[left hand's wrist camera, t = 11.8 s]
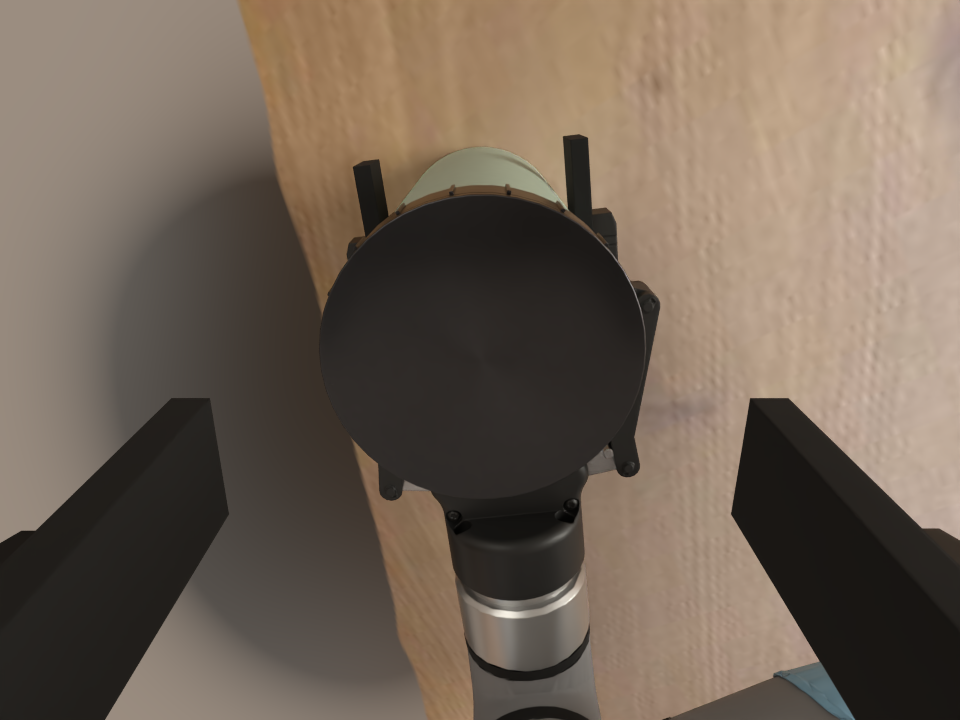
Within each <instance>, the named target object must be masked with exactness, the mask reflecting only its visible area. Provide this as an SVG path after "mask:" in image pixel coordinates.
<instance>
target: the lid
mask: <svg viewBox="0 0 960 720" xmlns="http://www.w3.org/2000/svg"><path fill="white" fill-rule="evenodd" d="M608 246H609V244H608V243H607V242H606V241H605V239H604V238H603V237H602V236H601V235H600V234H599V233H597V234H595V233H594V232H593V231H592V230H591V229H590V228H589V227H588V226H587V225H586V224H585V223H584V222H583V221H581V220H580V219H579V218H578V217H576V216H575V215H574V214H573V213H571V212H570V211H568V210H567V209H565V208H564V207H563V205H562V204H561V203H560V202H559V201H556V203H555V202H553V201H551V200H548V199H546V198H544V197H541V196H539V195H537V194H534V193H531V192H527V191H523V190H520V189H516V188H511V187H510V185H509V184H505V187H503V186H496V185H469V186H462V187H455V185H451V187H450V188H449V189H445V190H442V191H438V192H435V193H431V194H428V195H426V196H424V197H422V198H419V199H417V200H415V201H412V202H410V203H409V204H407V205H405V203H402V204H401V205H400V207H399V208H398V209H397V211H395V212H394V213H392V214H391V215H390V216H389V217H387V218H386V219H385V220H384V221H383V222H381V223H380V224H379V225H378V226H377V227H376V228H375V229H374V230H373V231H372V232H371V233H370V234H369V235H368V236H367V237H365V236H363V237H362V239H361V240H360V241H359V242H358V243H357V244H356V246H355V247H354V248H353V249H354V250H355V252H354V253H353V254H352V255H351V257H350V258H349V260H348V261H347V263H346V264H345V265H344V267H343V268H342V270H341V271H340V273H339V275H338V277H337V279H336V281H335V283H334V285H333V287H332V288H331V289H330V291H329V292H328V299H327V302H326V305H325V308H324V312H323V317H322V323H321V328H320V344H319V353H320V363H321V371H322V376H323V380H324V384H325V388H326V391H327V394H328V396H329V399H330V401H331V404H332V406H333V409H334V410H335V412H336V414H337V416H338V418H339V419H340V421H341V423H342V425H343V426H344V428H345V429H346V430H347V432H348V433H349V434H350V436H351V437H352V439H353V440H354V441H355V442H356V443H357V444H358V445H359V446H360V447H361V448H362V450H363V451H364V452H365V453H366V454H367V455H368V456H370V457H371V458H372V459H373V460H374V461H376V462H377V463H378V464H379V465H381V466H382V467H383V468H385V469H386V470H388V471H389V472H391V473H393V474H394V475H396V476H397V477H399V478H401V479H403V480H405V481H407V482H409V483H411V484H413V485H415V486H418V487H421V488H424V489H427V490H429V491H432V492H435V493H440V494H444V495H449V496H453V497H462V498H471V499H495V498H503V497H512V496H516V495H521V494H525V493H529V492H533V491H536V490H538V489H541V488H544V487H547V486H550V485H552V484H554V483H556V482H558V481H560V480H562V479H564V478H566V477H568V476H569V475H571V474H572V473H574V472H576V471H577V470H579V469H580V468H582V467H583V466H585V465H586V464H587V463H588V462H589V461H591V460H592V459H593V458H594V457H595V456H597V455H598V454H599V453H600V452H601V451H602V450H603V449H604V447H605V446H606V445H607V444H608V443H609V442H610V441H611V440H612V439H613V437H614V436H615V435H616V433H617V432H618V430H619V429H620V428H621V426H622V425H623V423H624V422H625V420H626V418H627V416H628V414H629V412H630V411H631V409H632V407H633V404H634V402H635V399H636V397H637V394H638V391H639V389H640V385H641V380H642V376H643V372H644V365H645V355H646V340H645V327H644V322H643V316H642V311H641V307H640V305H639V302H638V299H637V296H636V293H635V291H636V289H635V287H634V286H633V284H632V283H631V282H630V280H629V278H628V276H627V274H626V272H625V271H624V269H623V268H622V266H621V265H620V264H619V262H618V261H617V259H616V258H615V257H614V255H613V254H612V253H611V251H610V250H609V249H608V248H607V247H608Z"/></svg>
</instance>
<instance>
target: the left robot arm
mask: <svg viewBox="0 0 960 720" xmlns="http://www.w3.org/2000/svg"><path fill="white" fill-rule="evenodd" d="M228 515H229V512H228V506H227V500H226V494H225V488H224V482H223V476H222V470H221V464H220V458H219V451H218V446H217V440H216V433H215V427H214V421H213V415H212V409H211V403H210V398H171V399H170V400H169V401H168V402H167V403H166V404H165V405H164V406H163V407H162V408H161V409H160V410H159V411H158V412H157V413H156V414H155V415H154V416H153V417H152V418H151V419H150V420H149V421H148V422H147V423H146V424H145V425H144V426H143V427H142V428H141V429H140V430H139V431H138V432H137V433H136V434H134V435H133V436H132V437H131V438H130V439H129V440H128V441H127V442H126V443H125V444H124V445H123V446H122V447H121V448H120V449H119V450H118V451H117V452H116V453H115V454H114V455H113V456H112V457H111V458H110V459H109V460H108V461H107V462H106V463H105V464H104V465H103V466H102V467H101V468H100V469H99V470H98V471H97V472H96V473H94V474H93V475H92V476H91V477H90V478H89V479H88V480H87V481H86V482H85V483H84V484H83V485H82V486H81V487H80V488H79V489H78V490H77V491H76V492H75V493H74V494H73V495H72V496H71V497H70V498H69V499H68V500H67V501H66V502H65V503H64V504H63V505H62V506H61V507H60V508H59V509H58V510H57V511H56V512H54V513H53V514H52V515H51V516H50V517H49V518H48V519H47V520H46V521H45V522H44V523H43V524H42V525H41V526H40V527H39V528H38V529H37V530H36V531H20V532H19V533H17V534H15V535H13V536H12V537H10V538H8V539H7V540H5V541H3V542H1V543H0V720H105V719H106V717H107V715H108V714H109V712H110V710H111V709H112V707H113V705H114V704H115V702H116V701H117V699H118V697H119V695H120V694H121V692H122V691H123V689H124V687H125V686H126V684H127V682H128V681H129V679H130V677H131V676H132V674H133V672H134V671H135V669H136V667H137V666H138V664H139V662H140V661H141V659H142V657H143V656H144V654H145V652H146V651H147V649H148V647H149V646H150V644H151V642H152V641H153V639H154V637H155V636H156V634H157V633H158V631H159V629H160V628H161V626H162V624H163V622H164V621H165V619H166V618H167V616H168V614H169V613H170V611H171V609H172V608H173V606H174V604H175V603H176V601H177V599H178V598H179V596H180V594H181V593H182V591H183V589H184V588H185V586H186V584H187V583H188V581H189V579H190V578H191V576H192V574H193V573H194V571H195V569H196V568H197V566H198V565H199V563H200V561H201V560H202V558H203V556H204V555H205V553H206V551H207V550H208V548H209V546H210V545H211V543H212V541H213V540H214V538H215V536H216V535H217V533H218V531H219V530H220V528H221V526H222V525H223V523H224V521H225V520H226V518H227V516H228ZM731 515H732V516H733V518H734V520H735V521H736V523H737V525H738V526H739V528H740V530H741V531H742V533H743V535H744V536H745V538H746V540H747V541H748V543H749V545H750V546H751V548H752V550H753V551H754V553H755V555H756V556H757V558H758V560H759V561H760V563H761V565H762V566H763V568H764V569H765V571H766V573H767V574H768V576H769V578H770V579H771V581H772V583H773V584H774V586H775V588H776V589H777V591H778V593H779V594H780V596H781V598H782V599H783V601H784V603H785V604H786V606H787V608H788V609H789V611H790V613H791V614H792V616H793V618H794V619H795V621H796V623H797V624H798V626H799V628H800V629H801V631H802V633H803V634H804V636H805V637H806V639H807V641H808V642H809V644H810V646H811V647H812V649H813V651H814V652H815V654H816V656H817V657H818V659H819V661H820V662H821V664H822V666H823V667H824V669H825V671H826V672H827V674H828V676H829V677H830V679H831V681H832V682H833V684H834V686H835V687H836V689H837V691H838V692H839V694H840V696H841V697H842V699H843V701H844V702H845V704H846V705H847V707H848V709H849V710H850V712H851V714H852V715H853V717H854V719H855V720H960V540H958V539H956V538H955V537H953V536H951V535H949V534H948V533H946V532H944V531H942V530H941V529H922V528H921V527H920V526H919V525H918V524H917V523H916V522H915V521H914V520H913V519H912V518H911V517H910V516H909V515H908V514H907V513H906V512H905V511H903V510H902V509H901V508H900V507H899V506H898V505H897V504H896V503H895V502H894V501H893V500H892V499H891V498H890V497H889V496H888V495H887V494H886V493H885V492H884V491H883V490H882V489H881V488H880V487H879V486H878V485H877V484H876V483H875V482H874V481H873V480H872V479H871V478H870V477H869V476H868V475H867V474H866V473H865V472H863V471H862V470H861V469H860V468H859V467H858V466H857V465H856V464H855V463H854V462H853V461H852V460H851V459H850V458H849V457H848V456H847V455H846V454H845V453H844V452H843V451H842V450H841V449H840V448H839V447H838V446H837V445H836V444H835V443H834V442H833V441H832V440H831V439H830V438H829V437H828V436H827V435H826V434H824V433H823V432H822V431H821V430H820V429H819V428H818V427H817V426H816V425H815V424H814V423H813V422H812V421H811V420H810V419H809V418H808V417H807V416H806V415H805V414H804V413H803V412H802V411H801V410H800V409H799V408H798V407H797V406H796V405H795V404H794V403H793V402H792V401H791V400H790V399H789V398H750V403H749V409H748V415H747V421H746V427H745V433H744V439H743V445H742V451H741V458H740V464H739V470H738V476H737V482H736V488H735V494H734V500H733V506H732V512H731Z"/></svg>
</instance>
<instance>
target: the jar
mask: <svg viewBox="0 0 960 720" xmlns="http://www.w3.org/2000/svg"><path fill="white" fill-rule="evenodd" d="M505 184H509V185H510V187H511V188H516V189H520V190H523V191H527V192H531V193H534V194H537V195H539V196H541V197H544V198H546V199H548V200H551V201H553V202H555V203H556V201H559V202H560V203H561V204H562V205H563V207H564V208H565V209H567V207H566V206H565V205H564V204H563V202H562V201H561V200H560V198H559V197H558V196H557V194H556V193H555V192H554V190H553V189H552V188H551V187H550V185H549V184H548V183H547V181H546V180H545V179H544V177H543V176H542V175H541V174H540V173H539V172H538V171H537V170H536V168H535V167H533V166H532V165H531V164H530V163H528V162H527V161H526V160H524V159H522V158H521V157H519V156H518V155H515V154H513V153H511V152H508V151H505V150H502V149H498V148H491V147H473V148H466V149H463V150H459V151H456V152H453V153H451V154H449V155H447V156H445V157H443V158H442V159H440V160H438V161H437V162H436V163H434V164H433V165H432V166H431V167H430V168H429V169H428V170H427V171H426V172H425V173H424V174H423V175H422V176H421V178H420V179H419V180H418V182H417V183H416V184H415V186H414V187H413V188H412V189H411V191H410V192H409V193H408V195H407V196H406V197H405V199H404V200H403V201H402V203H405V205H407V204H409V203H410V202H412V201H415V200H417V199H419V198H422V197H424V196H426V195H428V194H431V193H435V192H438V191H442V190H445V189H449V188H450V187H451V185H455V187H462V186H469V185H496V186H503V187H505ZM402 203H401V204H402ZM401 204H400V205H401ZM400 205H399V207H400ZM399 207H398V208H399ZM398 208H397V209H398ZM397 209H396V211H397ZM567 210H568V209H567ZM568 211H569V210H568Z"/></svg>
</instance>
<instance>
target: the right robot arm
mask: <svg viewBox="0 0 960 720" xmlns="http://www.w3.org/2000/svg"><path fill="white" fill-rule="evenodd" d="M563 144H564V159H565V173H566V188H567V202H568V210H569V211H570V212H571V213H573V214H574V215H575V216H576V217H578V218H579V219H580V220H581V221H583V222H584V223H585V224H586V225H587V226H588V227H589V228H590V229H591V230H592V231H593V232H594V233H595V234H597V233H599V234H600V235H601V236H602V237H603V238H604V239H605V241H606V242H607V243H608V244H609V246H608V247H607V248H608V249H609V250H610V251H611V253H612V254H613V255H614V257H615V258H616V259H617V261H618V251H617V228H616V221H615V219H614V217H613V215H612V213H611V212H610V211H609V210H608V209H607V208H599V209H592V203H591V185H590V167H589V149H588V138H587V137H585V136H582V135H579V134H578V135H570V136H563ZM353 170H354V176H355V181H356V187H357V192H358V198H359V203H360V209H361V214H362V220H363V225H364V230H365V237H367V236H368V235H369V234H370V233H371V232H372V231H373V230H374V229H375V228H376V227H377V226H378V225H379V224H380V223H381V222H383V221H384V220H385V219H386V218H387V217H389V216H388V210H387V204H386V198H385V192H384V186H383V180H382V174H381V168H380V162H379V159H378V160H370V161H363V162H361V163H359V164H357V165H356V166H354V167H353ZM361 239H362V237H355V238H353V240H352V241H351V242H350V243H349V245H348V250H347V259H348V260H349V258H350V257H351V255H352V254H353V253H354V252H355V250H354V249H353V248H354V247H355V246H356V244H357V243H358V242H359V241H360V240H361ZM630 282H631V283H632V284H633V286H634V287H635V289H636V291H635V293H636V296H637V299H638V302H639V305H640V307H641V311H642V316H643V322H644V327H645V340H646V355H645V365H644V372H643V376H642V380H641V385H640V389H639V391H638V394H637V397H636V399H635V402H634V404H633V407H632V409H631V411H630V412H629V414H628V416H627V418H626V420H625V422H624V423H623V425H622V426H621V428H620V429H619V430H618V432H617V433H616V435H615V436H614V437H613V439H612V440H611V441H610V442H609V443H608V444H607V445H606V446H605V447H604V449H603V450H602V451H601V452H600V453H599V454H598V455H597V456H595V457H594V458H593V459H592V460H591V461H589V462H588V463H587V464H586V465H585V466H583V467H582V468H580V469H579V470H577V471H576V472H574V473H572V474H571V475H569V476H568V477H566V478H564V479H562V480H560V481H558V482H556V483H554V484H552V485H550V486H547V487H544V488H541V489H538V490H536V491H533V492H529V493H525V494H521V495H516V496H512V497H503V498H495V499H471V498H462V497H453V496H449V495H444V494H440V493H435V492H432V491H431V492H432V494H433V496H434V497H435V498H436V499H437V501H438V502H439V503H440V504H441V506H442V508H443V511H444V515H445V521H446V527H447V533H448V539H449V545H450V551H451V558H452V564H453V568H454V571H455V573H456V578H455V583H456V589H457V594H458V600H459V605H460V611H461V616H462V622H463V627H464V635H465V640H466V644H467V647H468V655H469V663H470V671H471V679H472V687H473V700H474V720H601V716H600V710H599V705H598V700H597V694H596V688H595V681H594V672H593V662H592V653H591V644H590V635H589V633H590V626H589V620H590V614H589V602H588V590H587V578H586V566H585V562H584V552H585V551H584V537H583V524H582V510H581V492H582V489H583V487H584V485H585V483H586V481H587V479H588V476H589V475H593V474H598V473H602V472H607V471H611V470H616V469H617V471H618V473H619V474H620V475H621V476H623V477H631V476H634V475H635V474H636V473H638V471H639V469H640V463H639V458H638V453H637V448H636V443H635V438H634V435H635V430H636V425H637V420H638V415H639V410H640V405H641V400H642V395H643V390H644V385H645V380H646V375H647V370H648V365H649V360H650V355H651V350H652V345H653V340H654V335H655V330H656V325H657V320H658V315H659V310H660V302H659V299H658V298H657V297H656V296H655V294H654V293H653V292H652V291H651V290H650V289H649V287H648V286H647V285H646V284H645V283H643V282H641V281H630ZM378 468H379V491H380V495H381V496H382V497H383V498H385V499H386V500H391V501H392V500H396V499H398V498H399V497H400V496H401V495H402V491H429V490H427V489H424V488H421V487H418V486H415V485H413V484H411V483H409V482H407V481H405V480H403V479H401V478H399V477H397V476H396V475H394V474H393V473H391V472H389V471H388V470H386V469H385V468H383V467H382V466H381V465H379V464H378ZM773 677H774V678H772V679H769V680H766V681H764V682H761V683H759V684H756V685H754V686H751V687H749V688H746V689H744V690H741V691H738V692H736V693H733V694H731V695H728V696H726V697H723V698H721V699H718V700H716V701H713V702H710V703H708V704H705V705H703V706H700V707H698V708H695V709H693V710H690V711H687V712H685V713H682V714H680V715H677V716H675V717H672V718H670V717H669V718H666V719H663V720H855V719H854V717H853V715H852V714H851V712H850V710H849V709H848V707H847V705H846V704H845V702H844V701H843V699H842V697H841V696H840V694H839V692H838V691H837V689H836V687H835V686H834V684H833V682H832V681H831V679H830V677H829V676H828V674H827V672H826V671H825V669H824V667H823V666H822V664H821V662H817V663H813V664H810V665H806V666H802V667H799V668H795V669H791V670H788V671H779V672H776V673H774V675H773Z"/></svg>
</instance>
